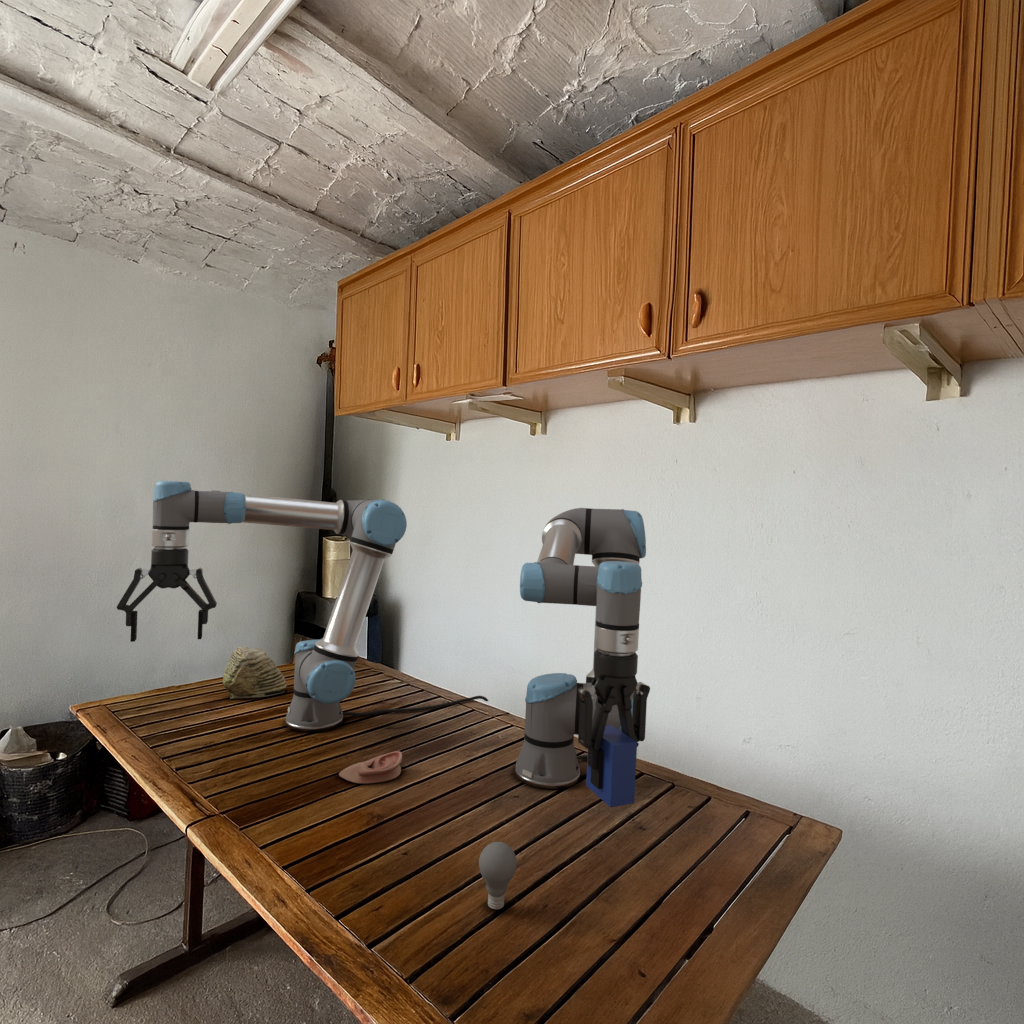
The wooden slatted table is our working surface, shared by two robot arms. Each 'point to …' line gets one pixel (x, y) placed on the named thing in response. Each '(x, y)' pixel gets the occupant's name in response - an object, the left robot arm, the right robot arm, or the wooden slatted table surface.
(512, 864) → the light bulb
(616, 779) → the block
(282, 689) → the fossil
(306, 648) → the left robot arm
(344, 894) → the wooden slatted table surface
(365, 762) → the anatomical model
